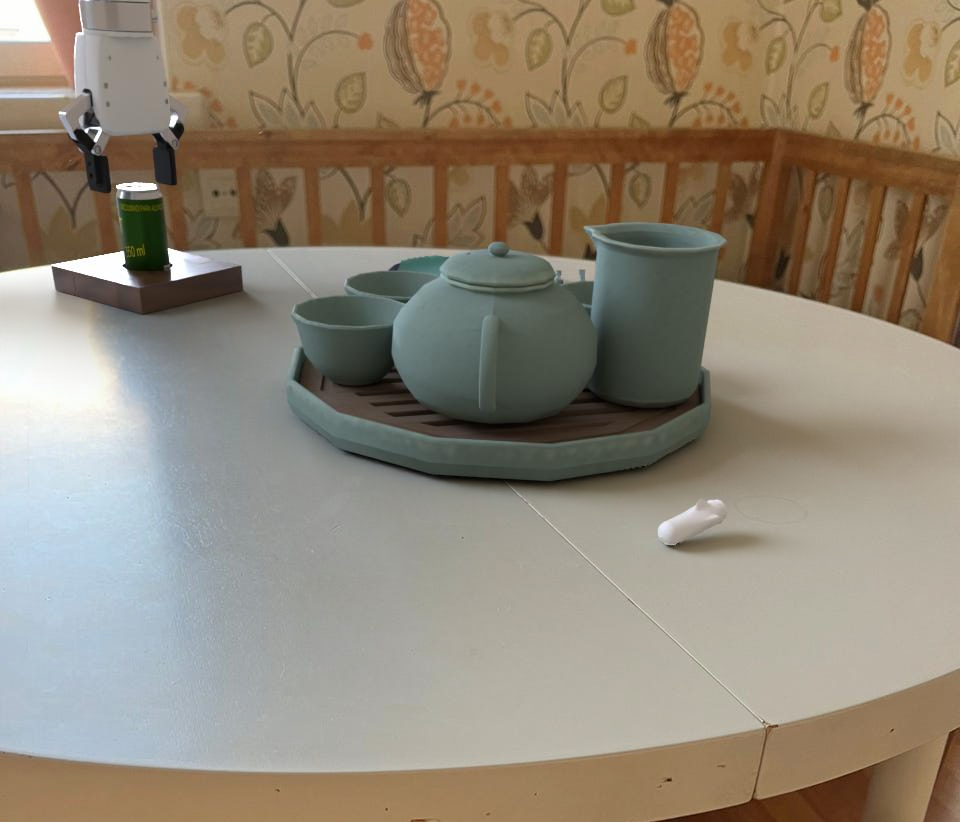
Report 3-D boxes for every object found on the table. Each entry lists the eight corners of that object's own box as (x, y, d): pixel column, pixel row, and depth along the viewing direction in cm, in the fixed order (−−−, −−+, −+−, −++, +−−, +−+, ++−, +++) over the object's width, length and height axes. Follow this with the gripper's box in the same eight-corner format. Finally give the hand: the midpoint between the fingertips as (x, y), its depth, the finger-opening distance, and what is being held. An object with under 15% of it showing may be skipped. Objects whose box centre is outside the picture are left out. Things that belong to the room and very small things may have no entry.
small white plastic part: (640, 529, 78) (645, 490, 76) (717, 527, 79) (724, 489, 77) (652, 551, 75) (658, 511, 73) (732, 549, 76) (740, 510, 74)
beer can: (176, 285, 133) (165, 183, 126) (169, 296, 128) (157, 191, 122) (132, 284, 132) (119, 182, 126) (124, 295, 128) (110, 189, 121)
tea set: (602, 335, 122) (618, 182, 113) (789, 466, 90) (831, 267, 81) (257, 353, 110) (245, 185, 102) (330, 510, 78) (322, 284, 70)
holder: (55, 290, 128) (50, 264, 127) (157, 269, 140) (155, 245, 138) (142, 314, 121) (139, 288, 119) (243, 290, 132) (241, 265, 131)
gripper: (155, 19, 123) (169, 177, 132) (26, 16, 110) (51, 190, 119) (200, 24, 119) (211, 185, 128) (72, 21, 107) (94, 199, 116)
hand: (134, 187), depth 124 cm, fingers open, 9 cm apart
